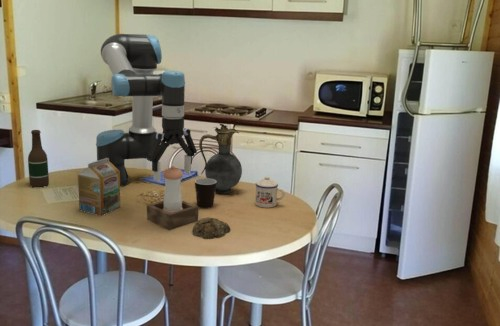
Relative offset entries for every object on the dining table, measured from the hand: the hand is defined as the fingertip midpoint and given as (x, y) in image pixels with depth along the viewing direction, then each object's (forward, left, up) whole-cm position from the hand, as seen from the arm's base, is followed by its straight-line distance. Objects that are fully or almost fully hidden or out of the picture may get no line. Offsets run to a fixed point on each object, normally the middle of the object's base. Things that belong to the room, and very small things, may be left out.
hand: (172, 176), depth 170 cm
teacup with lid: (+12, +40, -17) cm, 45 cm away
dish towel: (-43, +33, -17) cm, 57 cm away
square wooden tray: (0, 0, -17) cm, 17 cm away
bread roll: (+17, +3, -17) cm, 24 cm away
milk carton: (-27, -13, -17) cm, 34 cm away
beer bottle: (-69, -17, -17) cm, 73 cm away
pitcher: (-14, +37, -17) cm, 43 cm away
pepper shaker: (0, 0, -16) cm, 16 cm away
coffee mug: (-5, +21, -17) cm, 27 cm away
